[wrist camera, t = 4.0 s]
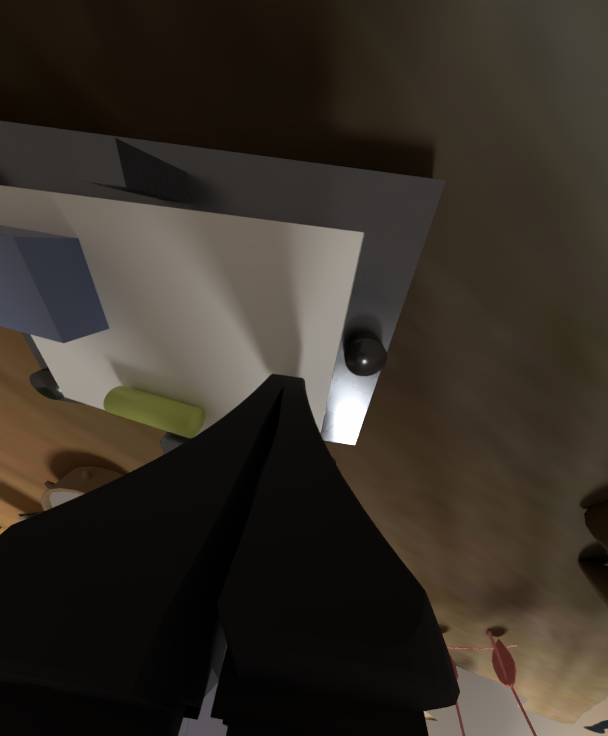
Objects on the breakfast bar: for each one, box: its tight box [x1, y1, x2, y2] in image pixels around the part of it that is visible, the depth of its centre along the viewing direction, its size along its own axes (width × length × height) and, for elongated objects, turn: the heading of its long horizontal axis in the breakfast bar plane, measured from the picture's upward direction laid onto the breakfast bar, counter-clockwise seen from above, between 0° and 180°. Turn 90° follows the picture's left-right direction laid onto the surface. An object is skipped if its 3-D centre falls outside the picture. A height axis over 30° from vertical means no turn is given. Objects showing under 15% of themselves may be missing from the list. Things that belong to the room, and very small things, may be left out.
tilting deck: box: [0, 185, 364, 438], centre depth 11 cm, size 18×12×3 cm, turn 84°
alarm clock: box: [40, 466, 124, 511], centre depth 28 cm, size 11×5×15 cm
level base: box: [0, 121, 446, 454], centre depth 13 cm, size 25×17×6 cm
